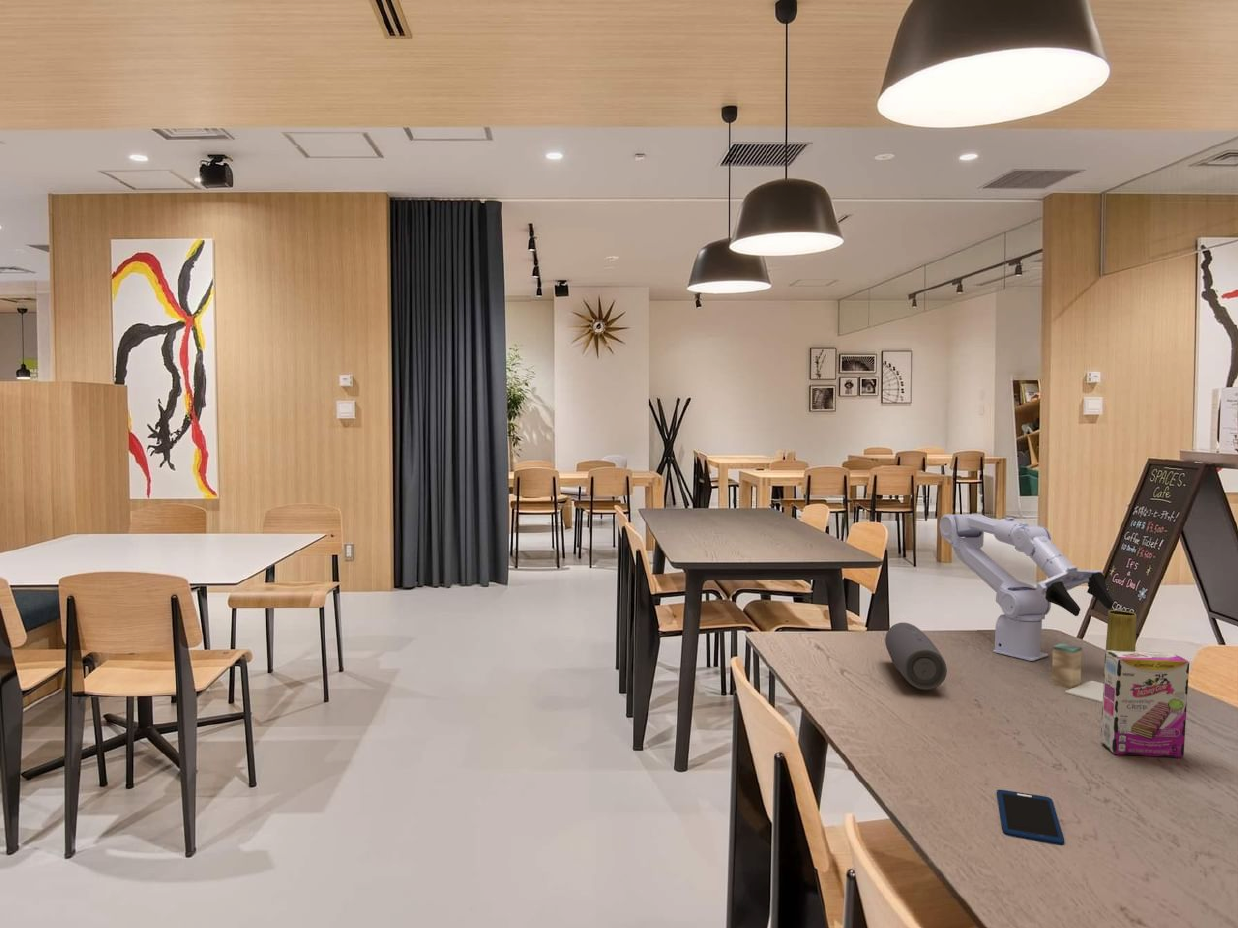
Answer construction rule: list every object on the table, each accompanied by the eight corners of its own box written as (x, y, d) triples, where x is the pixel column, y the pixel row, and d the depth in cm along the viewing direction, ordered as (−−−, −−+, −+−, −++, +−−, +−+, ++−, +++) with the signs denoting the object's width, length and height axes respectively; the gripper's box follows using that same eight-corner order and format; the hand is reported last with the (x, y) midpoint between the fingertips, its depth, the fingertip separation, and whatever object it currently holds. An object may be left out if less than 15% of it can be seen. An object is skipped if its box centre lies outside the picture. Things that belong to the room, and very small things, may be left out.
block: (1051, 683, 169) (1052, 646, 168) (1060, 680, 171) (1061, 643, 171) (1071, 688, 165) (1072, 650, 165) (1080, 684, 168) (1081, 647, 167)
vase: (1142, 682, 170) (1145, 616, 169) (1113, 682, 170) (1116, 615, 169) (1125, 673, 176) (1127, 609, 175) (1097, 673, 176) (1099, 609, 175)
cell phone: (1051, 801, 116) (1051, 796, 116) (1065, 848, 103) (1065, 842, 103) (996, 792, 119) (996, 787, 119) (1002, 837, 106) (1003, 831, 106)
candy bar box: (1114, 755, 132) (1118, 657, 131) (1099, 743, 137) (1102, 649, 136) (1186, 759, 131) (1191, 660, 130) (1168, 746, 136) (1172, 651, 135)
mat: (1064, 692, 163) (1065, 691, 163) (1091, 681, 170) (1091, 680, 170) (1113, 705, 155) (1113, 703, 155) (1138, 693, 163) (1138, 691, 163)
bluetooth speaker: (949, 697, 160) (950, 648, 159) (901, 694, 161) (902, 645, 161) (924, 664, 182) (925, 620, 182) (882, 661, 183) (883, 618, 183)
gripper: (1029, 558, 177) (1067, 603, 166) (1089, 546, 178) (1131, 589, 167) (1022, 581, 181) (1059, 625, 170) (1081, 568, 182) (1121, 611, 172)
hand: (1094, 609), depth 169 cm, fingers open, 7 cm apart
